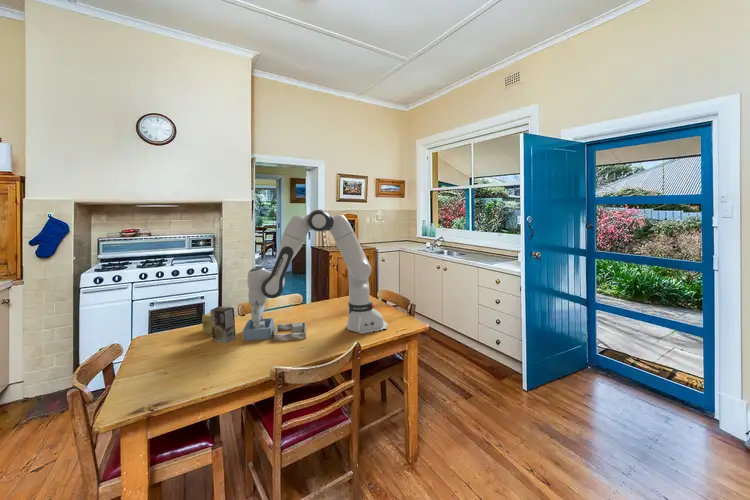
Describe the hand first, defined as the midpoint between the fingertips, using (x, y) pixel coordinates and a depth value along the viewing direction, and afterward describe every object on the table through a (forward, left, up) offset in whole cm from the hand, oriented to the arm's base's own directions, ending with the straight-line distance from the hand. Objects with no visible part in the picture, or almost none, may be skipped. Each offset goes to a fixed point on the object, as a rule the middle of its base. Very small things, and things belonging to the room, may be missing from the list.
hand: (259, 324), depth 167 cm
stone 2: (-19, +3, -5) cm, 20 cm away
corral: (-16, +3, -5) cm, 17 cm away
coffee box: (+16, +4, -5) cm, 18 cm away
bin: (0, 0, -5) cm, 5 cm away
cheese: (+23, -9, -5) cm, 25 cm away
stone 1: (0, 0, -4) cm, 4 cm away
